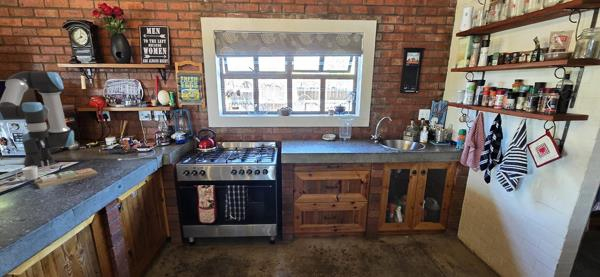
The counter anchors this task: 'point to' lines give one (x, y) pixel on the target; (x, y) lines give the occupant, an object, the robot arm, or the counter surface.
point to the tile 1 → (48, 178)
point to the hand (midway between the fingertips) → (46, 170)
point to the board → (65, 179)
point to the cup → (29, 173)
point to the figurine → (126, 148)
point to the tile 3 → (83, 171)
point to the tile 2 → (66, 174)
